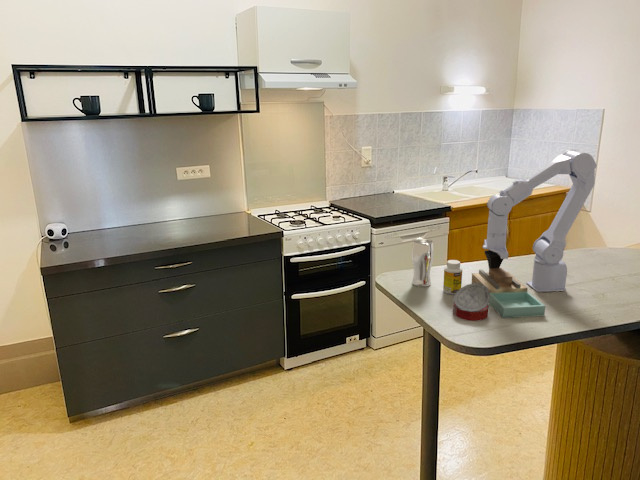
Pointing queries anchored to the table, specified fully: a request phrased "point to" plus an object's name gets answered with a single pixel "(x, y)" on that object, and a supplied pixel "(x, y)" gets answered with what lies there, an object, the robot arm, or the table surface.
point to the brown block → (495, 271)
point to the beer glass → (422, 261)
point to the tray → (516, 304)
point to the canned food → (472, 302)
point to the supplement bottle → (452, 277)
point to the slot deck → (495, 287)
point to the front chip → (503, 279)
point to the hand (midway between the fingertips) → (493, 272)
